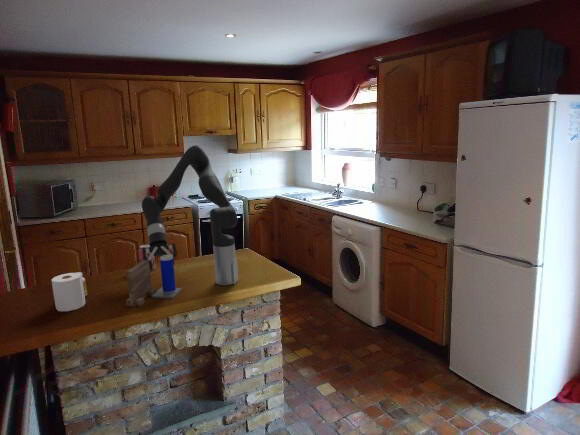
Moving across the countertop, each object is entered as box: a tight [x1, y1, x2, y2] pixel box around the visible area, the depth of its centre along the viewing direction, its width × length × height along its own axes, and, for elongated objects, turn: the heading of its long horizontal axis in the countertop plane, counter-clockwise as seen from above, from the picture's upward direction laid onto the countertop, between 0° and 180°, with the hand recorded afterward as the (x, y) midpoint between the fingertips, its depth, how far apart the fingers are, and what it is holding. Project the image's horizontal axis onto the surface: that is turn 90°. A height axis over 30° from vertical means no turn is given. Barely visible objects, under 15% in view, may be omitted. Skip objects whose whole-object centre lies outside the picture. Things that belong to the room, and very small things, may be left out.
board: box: [125, 260, 157, 307], centre depth 170 cm, size 6×14×14 cm, turn 171°
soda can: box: [138, 243, 156, 272], centre depth 206 cm, size 7×7×12 cm
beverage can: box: [159, 254, 177, 293], centre depth 175 cm, size 5×5×15 cm
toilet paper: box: [50, 272, 87, 312], centre depth 166 cm, size 10×10×12 cm
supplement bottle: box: [76, 271, 88, 297], centre depth 176 cm, size 5×5×10 cm
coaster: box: [151, 287, 182, 299], centre depth 176 cm, size 9×9×1 cm
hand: (162, 267), depth 182 cm, fingers open, 8 cm apart
